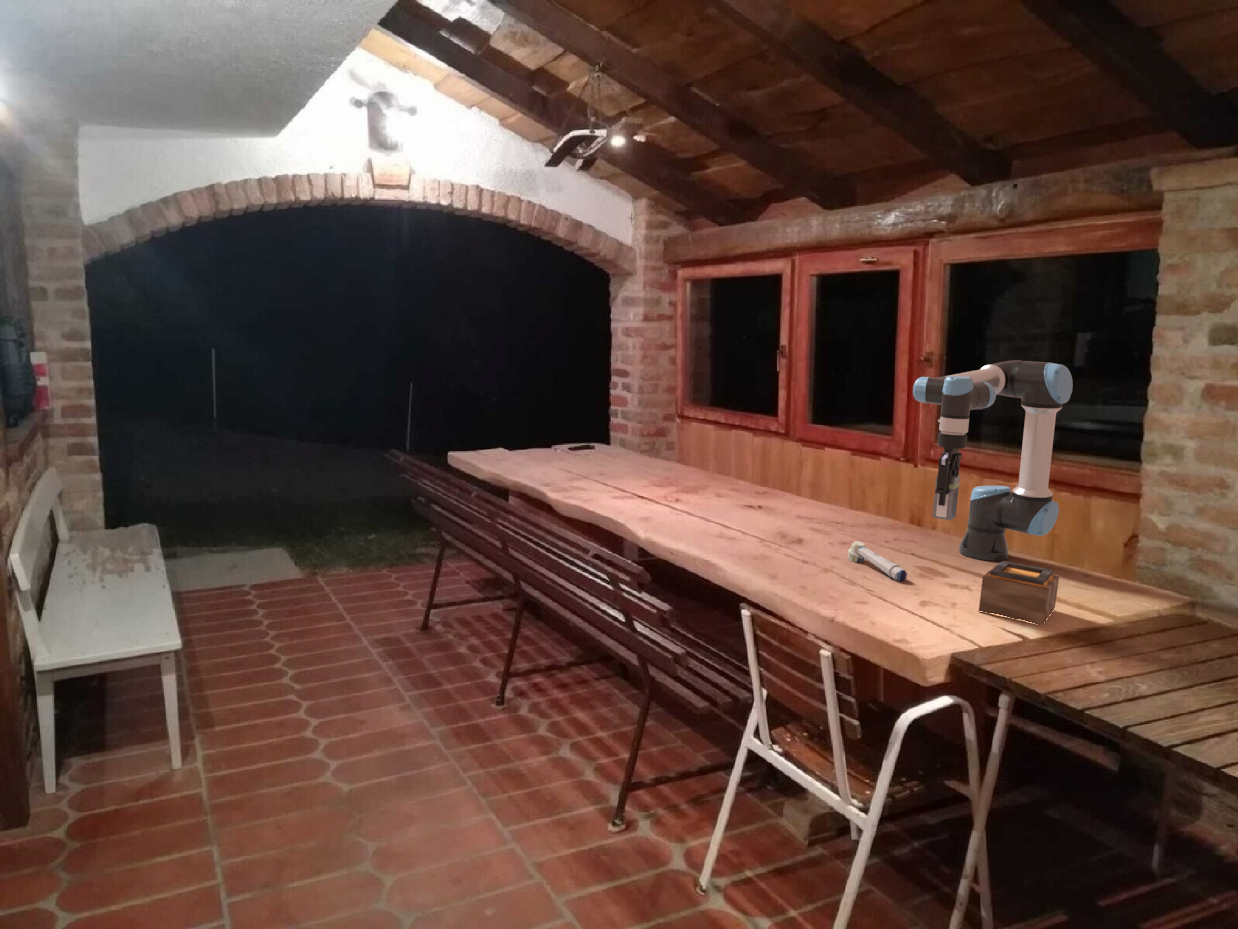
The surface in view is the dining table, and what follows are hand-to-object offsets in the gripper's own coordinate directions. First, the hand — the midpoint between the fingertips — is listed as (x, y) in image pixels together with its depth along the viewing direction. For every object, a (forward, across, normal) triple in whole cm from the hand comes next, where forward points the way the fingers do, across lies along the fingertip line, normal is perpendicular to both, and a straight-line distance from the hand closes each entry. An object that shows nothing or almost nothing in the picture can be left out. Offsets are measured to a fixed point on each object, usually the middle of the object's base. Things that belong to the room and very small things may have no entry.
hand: (944, 514), depth 256 cm
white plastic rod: (+24, -11, -22) cm, 34 cm away
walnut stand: (+23, 0, +22) cm, 32 cm away
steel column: (+1, 0, 0) cm, 1 cm away
